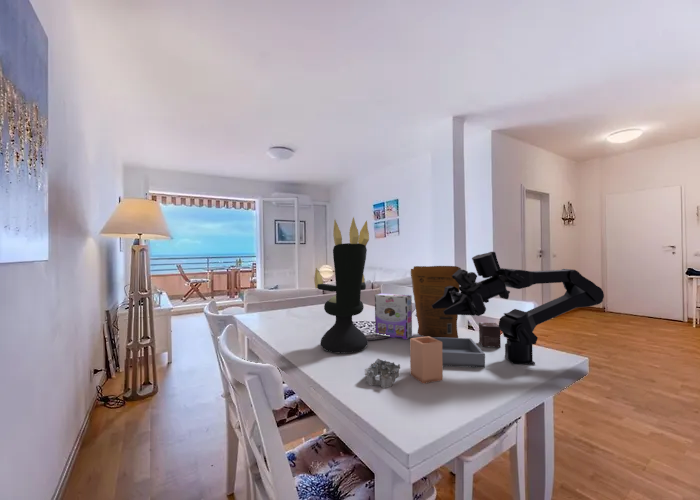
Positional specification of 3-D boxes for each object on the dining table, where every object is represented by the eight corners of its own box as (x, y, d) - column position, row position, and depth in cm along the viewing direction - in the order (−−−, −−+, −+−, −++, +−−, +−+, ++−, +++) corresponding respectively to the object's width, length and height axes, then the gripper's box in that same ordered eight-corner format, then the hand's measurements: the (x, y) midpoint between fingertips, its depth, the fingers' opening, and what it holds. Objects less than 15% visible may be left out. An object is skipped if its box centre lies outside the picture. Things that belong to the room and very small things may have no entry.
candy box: (412, 336, 123) (412, 294, 123) (407, 340, 118) (406, 296, 118) (381, 332, 130) (380, 292, 130) (374, 335, 125) (374, 294, 125)
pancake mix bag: (459, 343, 114) (458, 266, 114) (410, 335, 125) (409, 265, 125) (463, 338, 119) (463, 265, 119) (416, 331, 130) (416, 264, 130)
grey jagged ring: (389, 390, 76) (389, 374, 76) (361, 384, 80) (361, 368, 80) (403, 374, 86) (402, 360, 86) (377, 370, 89) (377, 355, 89)
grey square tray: (471, 350, 106) (471, 338, 106) (485, 367, 90) (484, 353, 90) (422, 348, 108) (422, 336, 108) (428, 365, 92) (428, 351, 92)
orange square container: (429, 371, 87) (428, 336, 87) (442, 380, 82) (442, 341, 82) (410, 375, 85) (410, 338, 85) (422, 383, 79) (422, 344, 79)
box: (500, 348, 108) (500, 326, 108) (482, 347, 109) (482, 326, 109) (496, 342, 114) (496, 322, 114) (478, 342, 115) (478, 322, 115)
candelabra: (361, 337, 122) (360, 222, 122) (385, 355, 101) (384, 216, 101) (313, 342, 116) (312, 221, 116) (328, 362, 95) (327, 214, 95)
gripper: (461, 264, 103) (418, 281, 102) (492, 266, 85) (440, 288, 83) (472, 295, 103) (430, 313, 102) (506, 305, 85) (455, 326, 83)
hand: (437, 309), depth 93 cm, fingers open, 9 cm apart
